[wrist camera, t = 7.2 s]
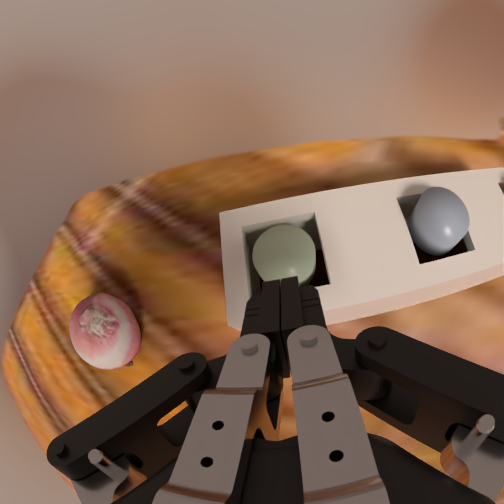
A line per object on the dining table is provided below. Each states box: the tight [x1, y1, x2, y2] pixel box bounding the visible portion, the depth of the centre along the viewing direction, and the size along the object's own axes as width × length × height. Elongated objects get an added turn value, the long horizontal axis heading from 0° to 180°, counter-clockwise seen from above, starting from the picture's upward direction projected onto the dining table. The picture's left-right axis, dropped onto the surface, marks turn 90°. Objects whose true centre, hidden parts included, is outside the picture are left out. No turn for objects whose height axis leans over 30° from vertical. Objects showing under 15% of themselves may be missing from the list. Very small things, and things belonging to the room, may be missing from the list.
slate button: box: [409, 187, 470, 256], centre depth 15 cm, size 4×4×2 cm
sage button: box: [252, 225, 316, 287], centre depth 18 cm, size 4×4×2 cm
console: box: [219, 167, 504, 331], centre depth 19 cm, size 30×8×8 cm, turn 96°
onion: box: [70, 293, 141, 369], centre depth 23 cm, size 8×8×7 cm
